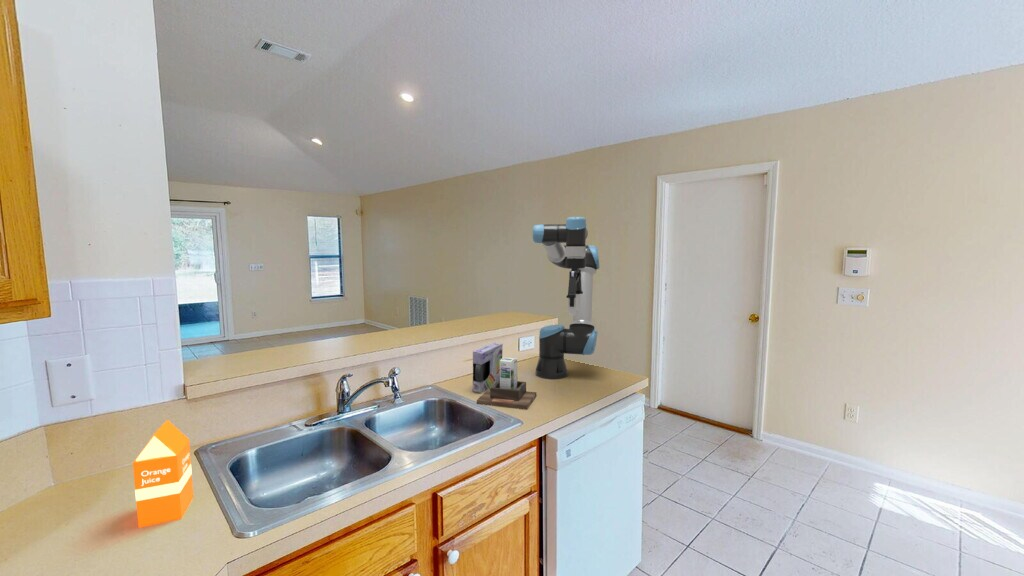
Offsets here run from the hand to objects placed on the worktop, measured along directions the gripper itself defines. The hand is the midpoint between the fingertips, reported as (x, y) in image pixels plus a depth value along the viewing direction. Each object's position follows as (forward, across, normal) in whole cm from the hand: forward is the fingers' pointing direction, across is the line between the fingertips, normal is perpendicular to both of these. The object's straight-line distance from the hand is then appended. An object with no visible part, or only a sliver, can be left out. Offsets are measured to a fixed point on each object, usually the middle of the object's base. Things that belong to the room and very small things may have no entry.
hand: (574, 312), depth 161 cm
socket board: (+35, -8, +25) cm, 44 cm away
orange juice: (+35, -97, +78) cm, 129 cm away
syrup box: (+33, -6, +25) cm, 42 cm away
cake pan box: (+35, +4, +38) cm, 52 cm away
